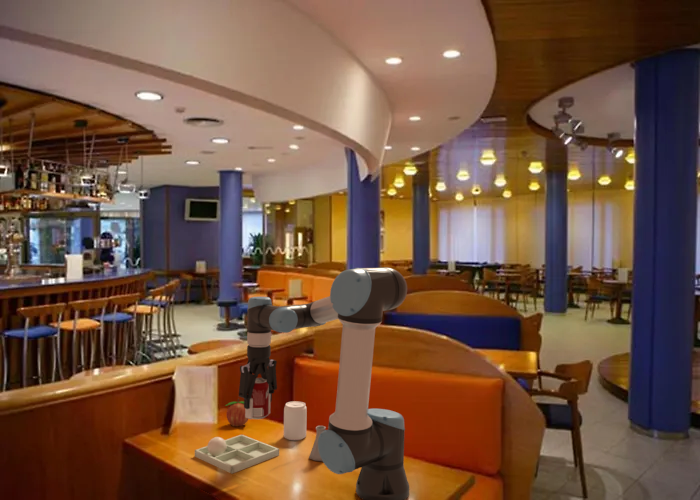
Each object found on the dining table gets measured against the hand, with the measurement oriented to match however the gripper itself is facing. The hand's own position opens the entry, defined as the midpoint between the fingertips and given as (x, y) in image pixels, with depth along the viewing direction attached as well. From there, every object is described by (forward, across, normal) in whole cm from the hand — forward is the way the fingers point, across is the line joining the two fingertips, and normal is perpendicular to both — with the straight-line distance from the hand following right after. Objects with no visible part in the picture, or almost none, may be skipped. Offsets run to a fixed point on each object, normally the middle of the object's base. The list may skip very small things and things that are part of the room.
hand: (257, 415), depth 180 cm
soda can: (+1, 0, 0) cm, 1 cm away
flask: (+14, -14, +14) cm, 25 cm away
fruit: (+15, -15, -30) cm, 36 cm away
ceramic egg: (+13, +9, -9) cm, 18 cm away
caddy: (+14, +5, -4) cm, 16 cm away
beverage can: (+14, -21, -4) cm, 26 cm away
